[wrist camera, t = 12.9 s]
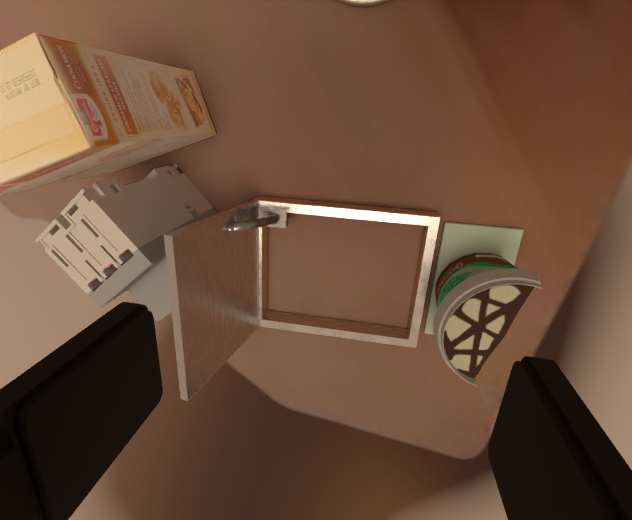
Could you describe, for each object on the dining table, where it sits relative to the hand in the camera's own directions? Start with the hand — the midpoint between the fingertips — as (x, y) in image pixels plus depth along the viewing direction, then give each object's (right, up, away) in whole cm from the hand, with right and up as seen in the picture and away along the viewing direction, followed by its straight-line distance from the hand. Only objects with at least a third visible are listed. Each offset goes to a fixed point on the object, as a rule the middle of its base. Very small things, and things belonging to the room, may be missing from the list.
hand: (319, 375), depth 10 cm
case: (+2, +2, +35) cm, 35 cm away
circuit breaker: (-15, +7, +36) cm, 40 cm away
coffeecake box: (-19, +18, +33) cm, 42 cm away
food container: (+16, +1, +33) cm, 36 cm away
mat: (+18, 0, +33) cm, 37 cm away
